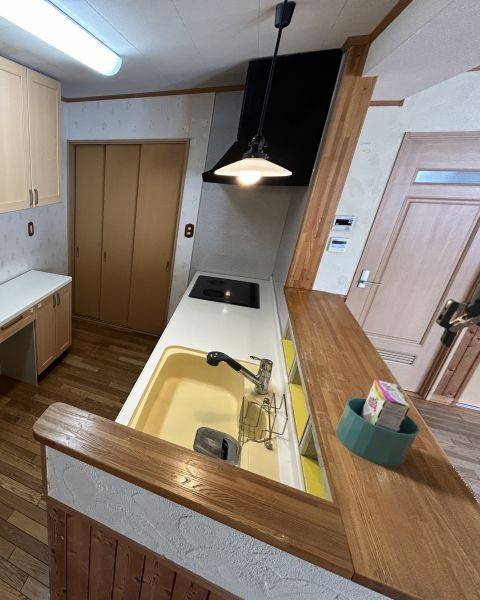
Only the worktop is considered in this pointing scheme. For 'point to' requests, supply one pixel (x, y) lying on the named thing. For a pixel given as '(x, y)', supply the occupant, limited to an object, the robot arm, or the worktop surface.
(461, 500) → the worktop surface
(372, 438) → the bucket
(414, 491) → the worktop surface
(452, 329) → the robot arm
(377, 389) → the candy bar box
